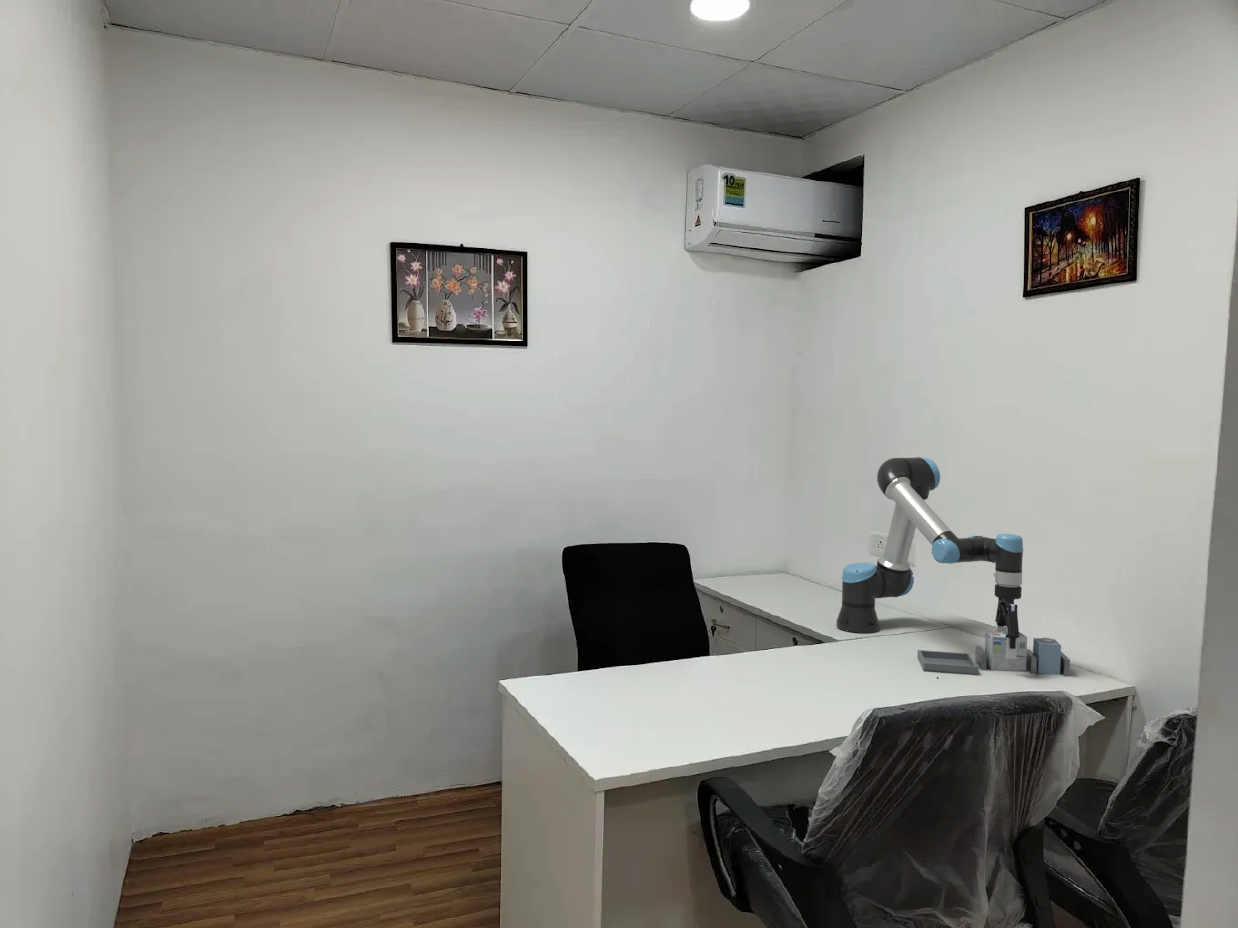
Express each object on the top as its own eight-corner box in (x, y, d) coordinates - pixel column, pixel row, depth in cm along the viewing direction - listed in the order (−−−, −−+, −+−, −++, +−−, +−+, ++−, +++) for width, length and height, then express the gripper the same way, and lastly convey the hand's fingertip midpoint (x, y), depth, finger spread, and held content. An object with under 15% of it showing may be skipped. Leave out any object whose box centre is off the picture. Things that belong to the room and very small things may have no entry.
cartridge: (1032, 666, 262) (1033, 635, 261) (1053, 667, 261) (1054, 636, 260) (1038, 672, 255) (1039, 641, 255) (1059, 674, 254) (1061, 642, 253)
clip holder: (975, 661, 267) (975, 645, 266) (1060, 667, 261) (1061, 651, 261) (980, 669, 258) (981, 653, 258) (1069, 676, 252) (1070, 659, 252)
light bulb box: (1018, 665, 263) (1020, 631, 263) (1027, 671, 257) (1028, 636, 256) (983, 663, 264) (984, 630, 264) (990, 670, 258) (992, 635, 257)
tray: (917, 657, 270) (917, 649, 270) (969, 661, 267) (969, 653, 267) (923, 671, 256) (923, 663, 256) (978, 675, 253) (978, 666, 252)
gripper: (986, 576, 272) (984, 641, 273) (1004, 592, 248) (1002, 662, 249) (1011, 577, 270) (1009, 642, 271) (1031, 593, 246) (1029, 664, 247)
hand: (1006, 652), depth 260 cm, fingers open, 13 cm apart
